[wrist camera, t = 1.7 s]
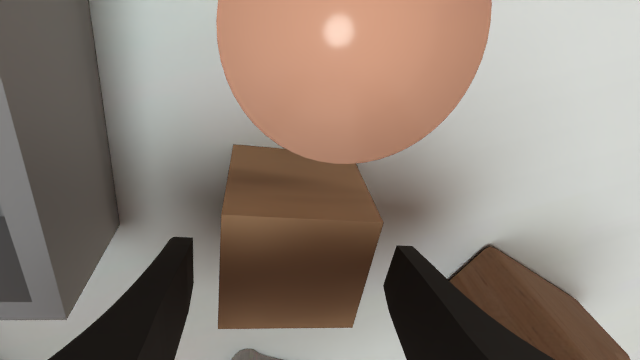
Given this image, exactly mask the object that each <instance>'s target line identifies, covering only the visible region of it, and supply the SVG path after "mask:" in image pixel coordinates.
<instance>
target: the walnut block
mask: <svg viewBox="0 0 640 360" xmlns="http://www.w3.org/2000/svg"><path fill="white" fill-rule="evenodd" d="M382 226H383V221H382V218H381V216H380V214H379V212H378V210H377V208H376V206H375V204H374V201H373V199H372V197H371V195H370V193H369V191H368V189H367V187H366V184H365V182H364V180H363V178H362V176H361V174H360V172H359V170H358V167H357V165H356V163H354V164H334V163H326V162H320V161H316V160H312V159H308V158H305V157H303V156H300V155H298V154H295V153H293V152H291V151H289V150H287V149H280V148H269V147H257V146H245V145H234V144H233V150H232V155H231V161H230V167H229V173H228V179H227V184H226V190H225V196H224V202H223V207H222V213H221V240H220V274H219V308H218V329H259V328H352V327H353V324H354V320H355V317H356V313H357V310H358V307H359V303H360V300H361V297H362V293H363V290H364V287H365V283H366V280H367V276H368V273H369V270H370V266H371V263H372V260H373V256H374V253H375V250H376V246H377V243H378V239H379V236H380V233H381V229H382Z"/></svg>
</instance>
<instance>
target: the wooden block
mask: <svg viewBox="0 0 640 360" xmlns="http://www.w3.org/2000/svg"><path fill="white" fill-rule="evenodd" d="M450 282H451V283H452V284H453V285H454V286H455V287H456V288H457V289H458V290H460V291H461V292H462V293H463V294H464V295H465V296H466V297H467V298H469V299H470V300H471V301H472V302H473V303H475V304H476V305H477V306H478V307H479V308H481V309H482V310H483V311H484V312H486V313H487V314H488V315H489V316H491V317H492V318H493V319H495V320H496V321H497V322H499V323H500V324H501V325H503V326H504V327H505V328H507V329H508V330H510V331H511V332H513V333H514V334H515V335H517V336H518V337H520V338H521V339H523V340H524V341H526V342H528V343H529V344H531V345H532V346H534V347H535V348H537V349H538V350H540V351H542V352H543V353H545V354H547V355H548V356H550V357H552V358H553V359H555V360H630V358H629V356H628V354H627V353H626V352H625V351H624V350H623V349H622V348H621V347H620V346H619V345H618V344H617V343H616V342H615V340H614V339H613V338H612V337H611V336H610V335H609V334H608V333H607V332H606V331H605V330H604V329H603V328H602V327H601V326H600V325H599V324H598V322H597V321H596V320H595V319H594V318H593V317H592V316H591V315H590V314H589V313H588V312H587V311H586V310H585V309H584V308H583V307H582V305H581V304H580V303H579V302H578V301H577V300H576V299H574V298H573V297H571V296H569V295H568V294H566V293H565V292H563V291H562V290H560V289H559V288H557V287H555V286H554V285H552V284H551V283H549V282H548V281H546V280H544V279H543V278H541V277H540V276H538V275H537V274H535V273H534V272H532V271H530V270H529V269H527V268H526V267H524V266H523V265H521V264H519V263H518V262H516V261H515V260H513V259H512V258H510V257H508V256H507V255H505V254H504V253H502V252H501V251H499V250H497V249H495V248H493V247H488V248H486V249H484V250H483V251H482V252H481V253H480V254H479V255H478V256H476V257H475V258H474V259H473V260H472V261H471V262H470V263H469V264H468V265H466V266H465V267H464V268H463V269H462V270H461V271H460V272H459V273H457V274H456V275H455V276H454V277H453V278H452V279H451V280H450Z"/></svg>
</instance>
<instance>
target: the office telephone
mask: <svg viewBox="0 0 640 360" xmlns="http://www.w3.org/2000/svg"><path fill="white" fill-rule="evenodd" d="M231 360H282V359H277V358H273V357H269V356H265V355H261V354H259V353H258V352H256V351H255V350H253V349H243V350H240V351H239V352H238V353H236V355H235V356H234V357H233V358H232V359H231Z"/></svg>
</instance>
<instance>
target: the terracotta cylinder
mask: <svg viewBox="0 0 640 360" xmlns="http://www.w3.org/2000/svg"><path fill="white" fill-rule="evenodd" d="M491 6H492V3H491V0H218V9H217V42H218V47H219V53H220V59H221V63H222V66H223V69H224V73H225V76H226V79H227V81H228V84H229V86H230V88H231V90H232V92H233V95H234V97H235V98H236V100H237V101H238V103H239V105H240V106H241V108H242V110H243V111H244V112H245V114H246V115H247V116H248V117H249V119H250V120H251V121H252V122H253V124H254V125H256V126H257V127H258V128H259V129H260V130H261V131H262V132H263V133H264V134H265V135H266V136H267V137H269V138H270V139H271V140H273V141H274V142H275V143H277V144H278V145H280V146H282V147H284V148H285V149H287V150H289V151H291V152H293V153H295V154H298V155H300V156H303V157H305V158H308V159H312V160H316V161H320V162H326V163H334V164H354V163H364V162H369V161H373V160H378V159H381V158H384V157H387V156H390V155H393V154H395V153H397V152H400V151H402V150H404V149H406V148H408V147H410V146H411V145H413V144H415V143H416V142H418V141H419V140H421V139H422V138H424V137H425V136H426V135H428V134H429V133H430V132H432V131H433V130H434V129H435V128H436V127H437V126H438V125H439V124H440V123H441V122H442V121H444V120H445V119H446V117H447V116H448V115H449V114H450V113H451V112H452V110H453V109H454V108H455V107H456V106H457V104H458V103H459V101H460V100H461V99H462V97H463V96H464V94H465V93H466V91H467V89H468V88H469V86H470V84H471V82H472V80H473V78H474V77H475V74H476V72H477V70H478V67H479V65H480V62H481V60H482V57H483V53H484V50H485V47H486V43H487V39H488V33H489V28H490V20H491Z"/></svg>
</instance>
